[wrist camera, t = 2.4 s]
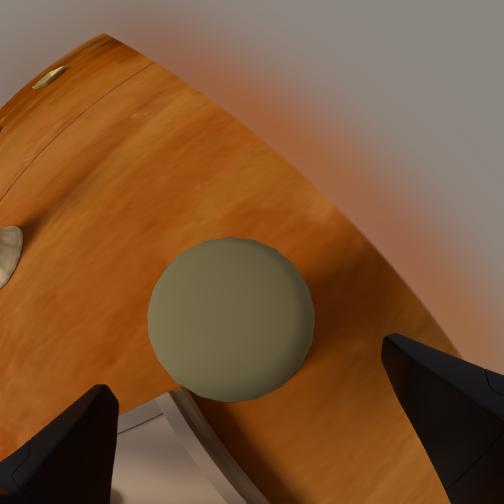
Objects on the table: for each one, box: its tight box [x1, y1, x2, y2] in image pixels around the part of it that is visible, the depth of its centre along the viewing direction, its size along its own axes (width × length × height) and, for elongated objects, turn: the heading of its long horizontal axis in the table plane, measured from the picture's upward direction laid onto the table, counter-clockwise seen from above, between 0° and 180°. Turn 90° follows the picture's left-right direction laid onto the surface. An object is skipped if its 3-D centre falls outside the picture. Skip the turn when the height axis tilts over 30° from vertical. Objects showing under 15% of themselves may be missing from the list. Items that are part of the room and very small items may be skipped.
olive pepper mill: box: [147, 237, 315, 402], centre depth 12 cm, size 6×6×11 cm
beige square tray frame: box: [33, 66, 64, 89], centre depth 49 cm, size 9×9×2 cm
